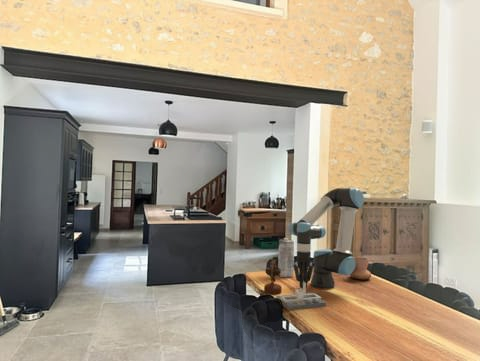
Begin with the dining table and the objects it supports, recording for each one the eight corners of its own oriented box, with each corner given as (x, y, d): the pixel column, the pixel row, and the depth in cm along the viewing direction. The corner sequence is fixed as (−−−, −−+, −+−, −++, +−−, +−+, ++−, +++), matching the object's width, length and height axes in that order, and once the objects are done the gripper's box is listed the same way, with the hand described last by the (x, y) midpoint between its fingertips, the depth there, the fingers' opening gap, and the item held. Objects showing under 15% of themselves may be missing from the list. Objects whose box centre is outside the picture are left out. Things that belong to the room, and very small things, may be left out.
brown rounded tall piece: (283, 295, 183) (281, 261, 183) (264, 297, 183) (262, 262, 184) (280, 287, 198) (278, 255, 199) (263, 288, 198) (261, 256, 199)
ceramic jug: (364, 275, 231) (364, 255, 231) (377, 280, 217) (376, 259, 217) (342, 276, 227) (342, 257, 227) (354, 282, 212) (353, 261, 213)
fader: (300, 297, 174) (300, 289, 174) (303, 299, 170) (303, 291, 170) (295, 297, 173) (295, 289, 173) (298, 300, 169) (298, 291, 170)
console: (310, 296, 183) (310, 290, 183) (326, 306, 167) (326, 299, 168) (276, 299, 176) (276, 293, 176) (289, 310, 161) (289, 303, 161)
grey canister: (294, 277, 221) (294, 239, 221) (279, 277, 221) (279, 239, 222) (292, 274, 230) (292, 237, 230) (277, 274, 230) (278, 237, 230)
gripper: (310, 249, 179) (310, 290, 178) (289, 250, 175) (289, 292, 174) (317, 251, 171) (317, 295, 171) (296, 252, 167) (295, 297, 167)
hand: (303, 293), depth 172 cm, fingers closed
